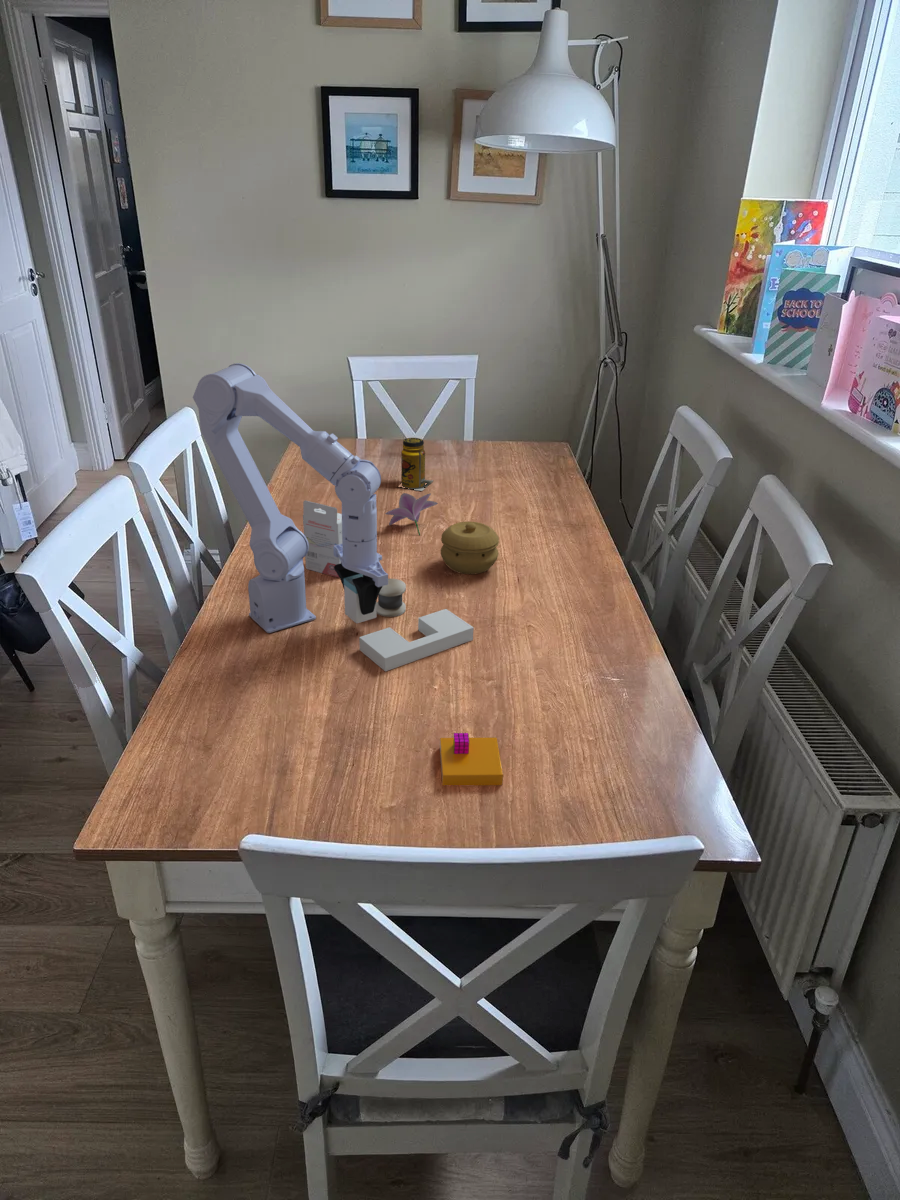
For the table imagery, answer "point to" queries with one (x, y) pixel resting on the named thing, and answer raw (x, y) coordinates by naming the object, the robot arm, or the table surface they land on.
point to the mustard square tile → (470, 761)
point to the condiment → (413, 464)
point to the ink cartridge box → (322, 536)
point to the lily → (410, 508)
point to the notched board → (397, 651)
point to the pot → (469, 547)
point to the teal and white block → (355, 602)
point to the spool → (391, 599)
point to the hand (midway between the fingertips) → (360, 607)
